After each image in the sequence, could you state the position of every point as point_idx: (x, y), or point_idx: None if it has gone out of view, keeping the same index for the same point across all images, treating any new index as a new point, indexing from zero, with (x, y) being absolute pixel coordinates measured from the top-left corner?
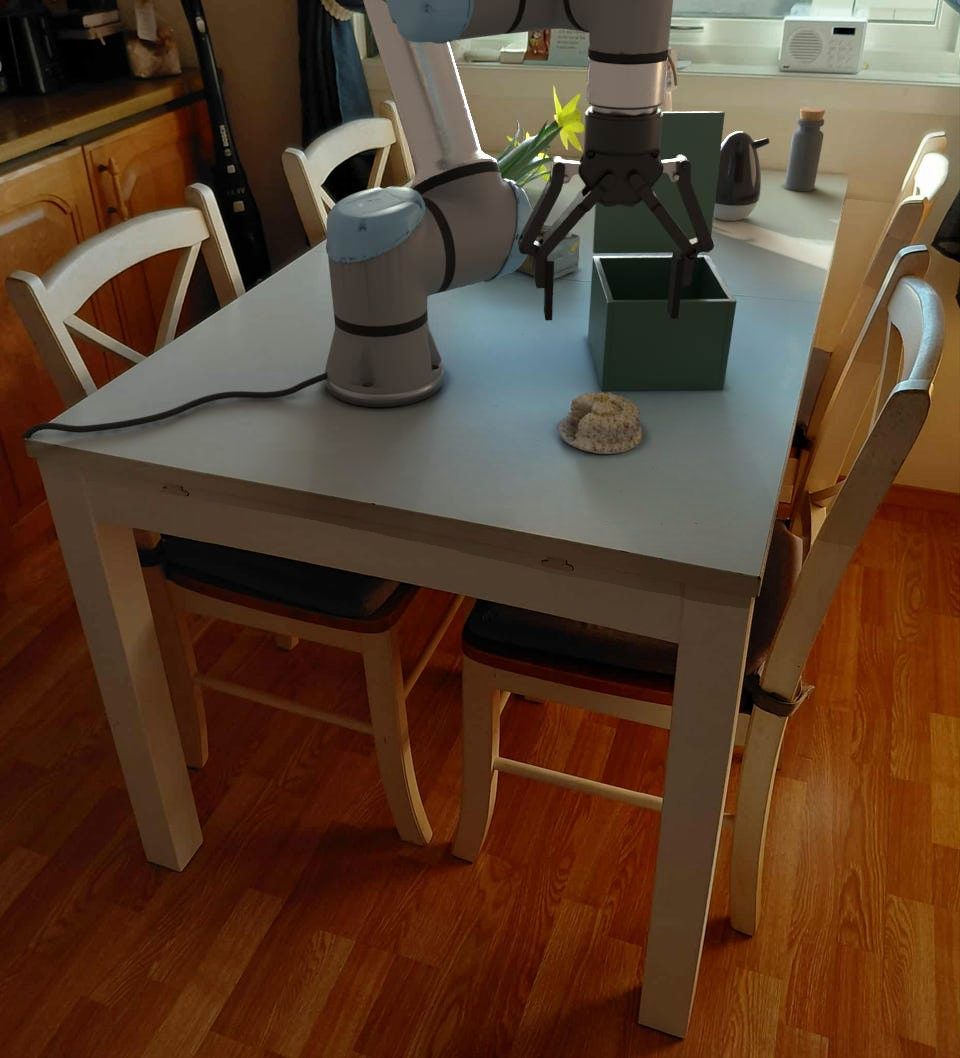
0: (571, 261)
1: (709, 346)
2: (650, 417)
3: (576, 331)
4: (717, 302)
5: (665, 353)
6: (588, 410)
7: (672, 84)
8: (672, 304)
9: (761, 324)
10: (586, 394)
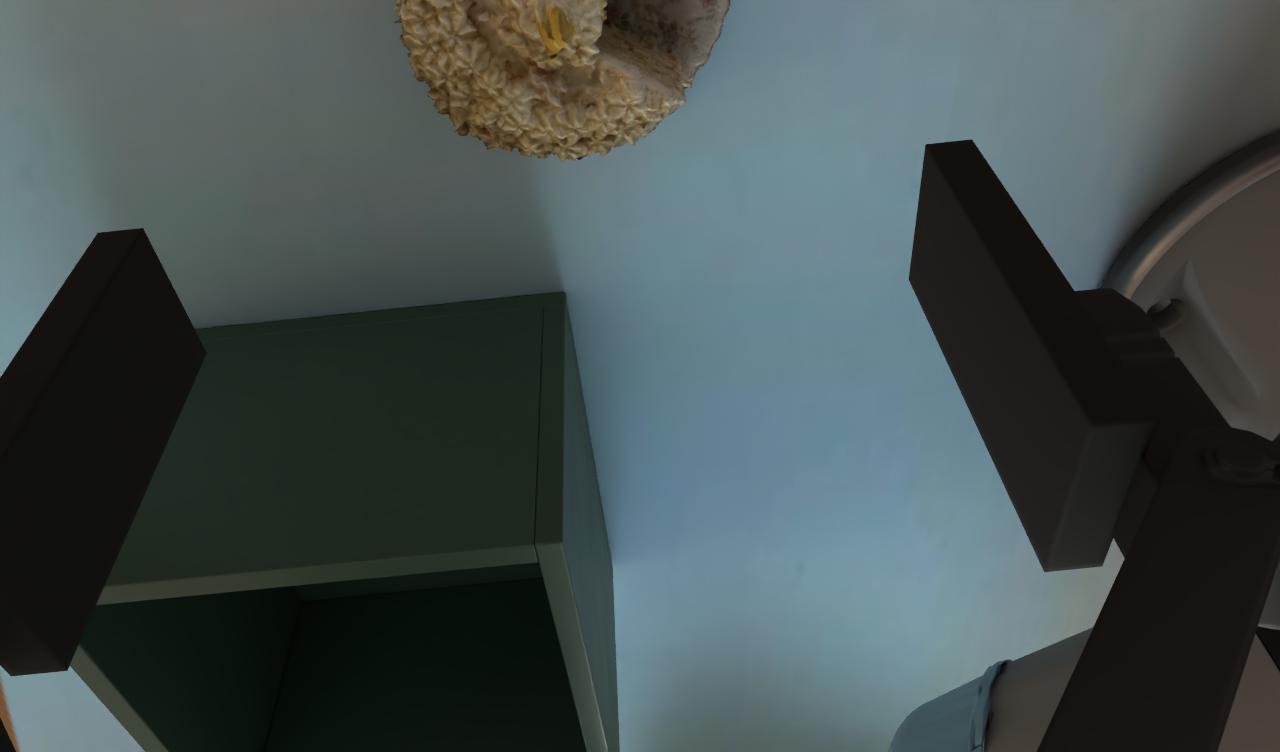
0: None
1: None
2: (375, 126)
3: (644, 594)
4: None
5: (334, 404)
6: (615, 50)
7: None
8: (112, 291)
9: None
10: (627, 118)
